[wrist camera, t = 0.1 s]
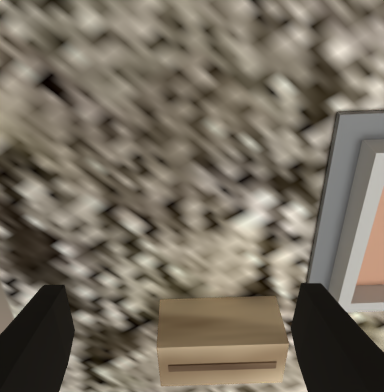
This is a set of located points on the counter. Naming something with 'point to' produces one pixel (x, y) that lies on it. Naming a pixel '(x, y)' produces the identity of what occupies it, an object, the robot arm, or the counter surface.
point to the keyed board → (353, 215)
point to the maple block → (221, 341)
